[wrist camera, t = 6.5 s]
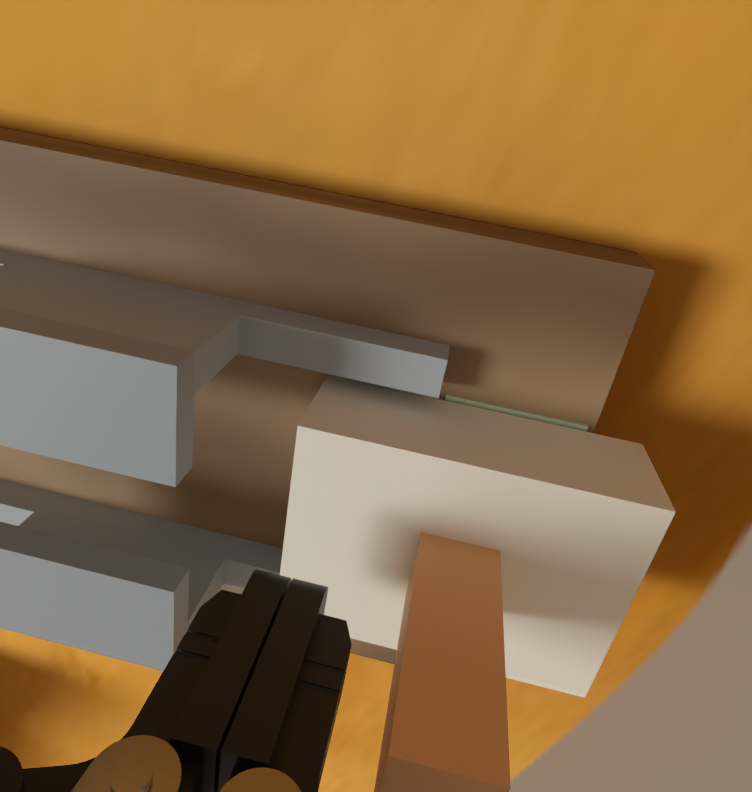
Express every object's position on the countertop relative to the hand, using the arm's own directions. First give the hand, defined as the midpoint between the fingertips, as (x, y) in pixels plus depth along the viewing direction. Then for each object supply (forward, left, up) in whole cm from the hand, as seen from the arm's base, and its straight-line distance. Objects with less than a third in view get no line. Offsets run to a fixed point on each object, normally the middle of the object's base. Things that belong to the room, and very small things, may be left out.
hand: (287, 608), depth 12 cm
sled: (0, +3, -5) cm, 6 cm away
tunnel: (0, -5, -5) cm, 8 cm away
